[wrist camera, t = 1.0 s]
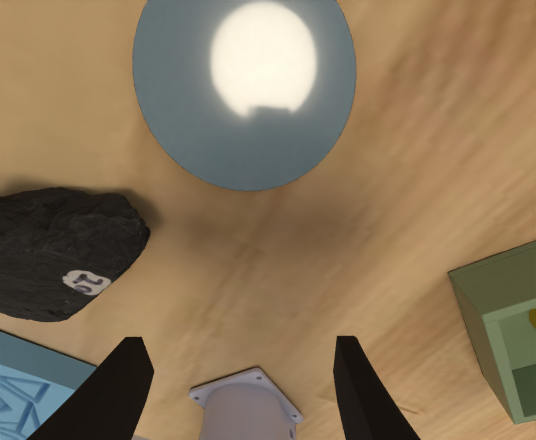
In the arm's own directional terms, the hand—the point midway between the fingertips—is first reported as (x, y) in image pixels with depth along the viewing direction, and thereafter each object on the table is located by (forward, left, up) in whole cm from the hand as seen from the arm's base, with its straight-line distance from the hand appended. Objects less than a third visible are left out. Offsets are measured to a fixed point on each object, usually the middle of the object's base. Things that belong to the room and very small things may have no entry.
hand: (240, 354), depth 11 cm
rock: (+6, +11, -10) cm, 16 cm away
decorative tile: (+1, +29, -14) cm, 32 cm away
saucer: (+7, -4, -10) cm, 13 cm away
